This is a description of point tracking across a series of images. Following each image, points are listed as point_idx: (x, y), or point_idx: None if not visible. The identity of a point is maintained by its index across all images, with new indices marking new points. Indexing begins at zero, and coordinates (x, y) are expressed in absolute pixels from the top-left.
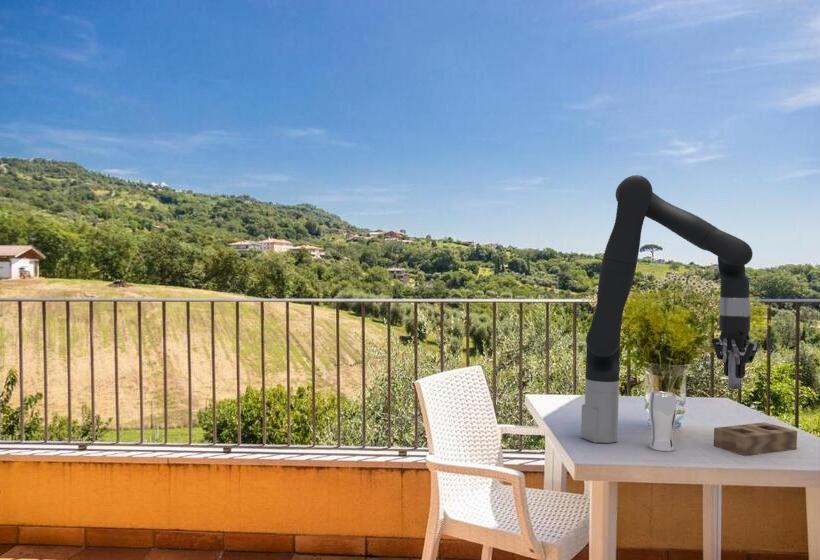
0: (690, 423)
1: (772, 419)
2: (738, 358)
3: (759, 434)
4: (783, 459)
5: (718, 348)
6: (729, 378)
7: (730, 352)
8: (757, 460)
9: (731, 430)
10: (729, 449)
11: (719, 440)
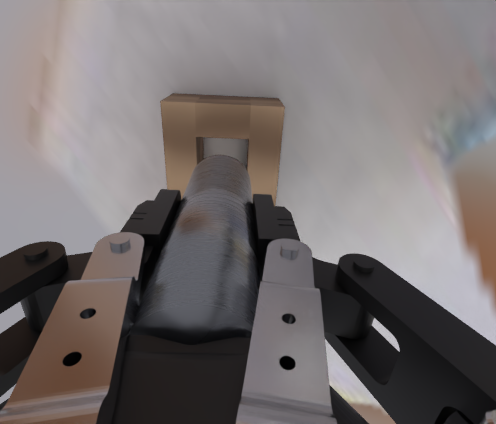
0: (447, 234)
1: (353, 394)
2: (102, 268)
3: (174, 173)
4: (124, 163)
5: (424, 352)
6: (223, 174)
7: (190, 300)
8: (131, 88)
9: (238, 133)
10: (223, 96)
11: (259, 100)
